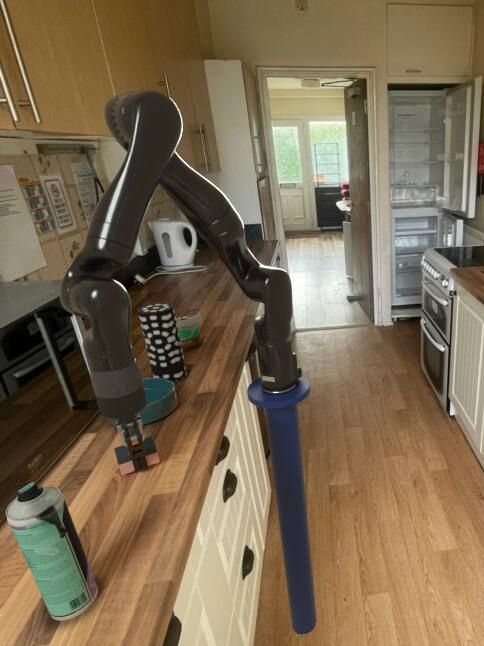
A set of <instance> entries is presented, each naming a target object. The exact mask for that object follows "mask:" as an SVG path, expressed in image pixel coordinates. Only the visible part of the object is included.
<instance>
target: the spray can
mask: <svg viewBox="0 0 484 646" xmlns="http://www.w3.org/2000/svg"><path fill="white" fill-rule="evenodd" d="M5 515H6V521H7V522H8V525H9V526H10V529H11V532H12V534H13V536H14V538H15V540H16V542H17V545H18V547H19V549H20V551H21V554H22V556H23V558H24V560H25V562H26V564H27V567H28V569H29V572H30V573H31V576H32V578H33V580H34V582H35V584H36V587H37V589H38V591H39V593H40V594H41V597H42V600H43V601H44V605H45V607H46V609H47V611H48V613H49V616H51V618H52V619H53V620H56V621H60V622H62V621H67V620H68V621H69V620H71V619H74V618H76V617H78V616H80V615H81V614H83V613H84V612H85V611H87V610H88V609H89V608H90V607H91V606H92V605H93V604H94V603H95V600H96V599H97V597H98V594H99V589H98V585H97V582H96V579H95V577H94V574H93V571H92V569H91V566H90V563H89V561H88V558H87V555H86V553H85V549H84V547H83V545H82V541H81V539H80V537H79V534H78V531H77V528H76V526H75V524H74V523H75V522H74V521H73V518H72V515H71V513H70V510H69V508H68V504H67V502H66V499H65V497H64V494H63V493H62V492H61V490H60V489H59V488H58V487H56V486H52V485H49V486H41V485H40V486H39V485H38V484H37V482H36V481H34V480H33V481H32V480H31V481H27V482H24V483H23V484H22V485H21V486H20V487H19V488H18V494H17V496H16V498H14V499H13V500H12V501H11V502H10V503H9V504H8V506H7V507H6V510H5Z"/></svg>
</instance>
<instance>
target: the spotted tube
mask: <svg viewBox="0 0 484 646" xmlns="http://www.w3.org/2000/svg"><path fill="white" fill-rule="evenodd" d="M137 314H138V317H139V318H138V319H139V322H140V327H141V331H142V335H143V336H142V337H143V339H144V343H145V348H146V352H147V357H148V362H149V365H150V370H151V374H152V378H163V379H168V380H170V381H172V382H173V383H175V382H178V381H181V380H183V379H185V377H187V375H188V372H187V368H186V367H187V366H186V361H185V356H184V350H182V346H181V341H180V336H179V331H178V326H177V321H176V318H177V316H176V311H175V306H174V304H172V303H170V302H155V303H149V304H145V305H143V306H140V307H139V308H137Z"/></svg>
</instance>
